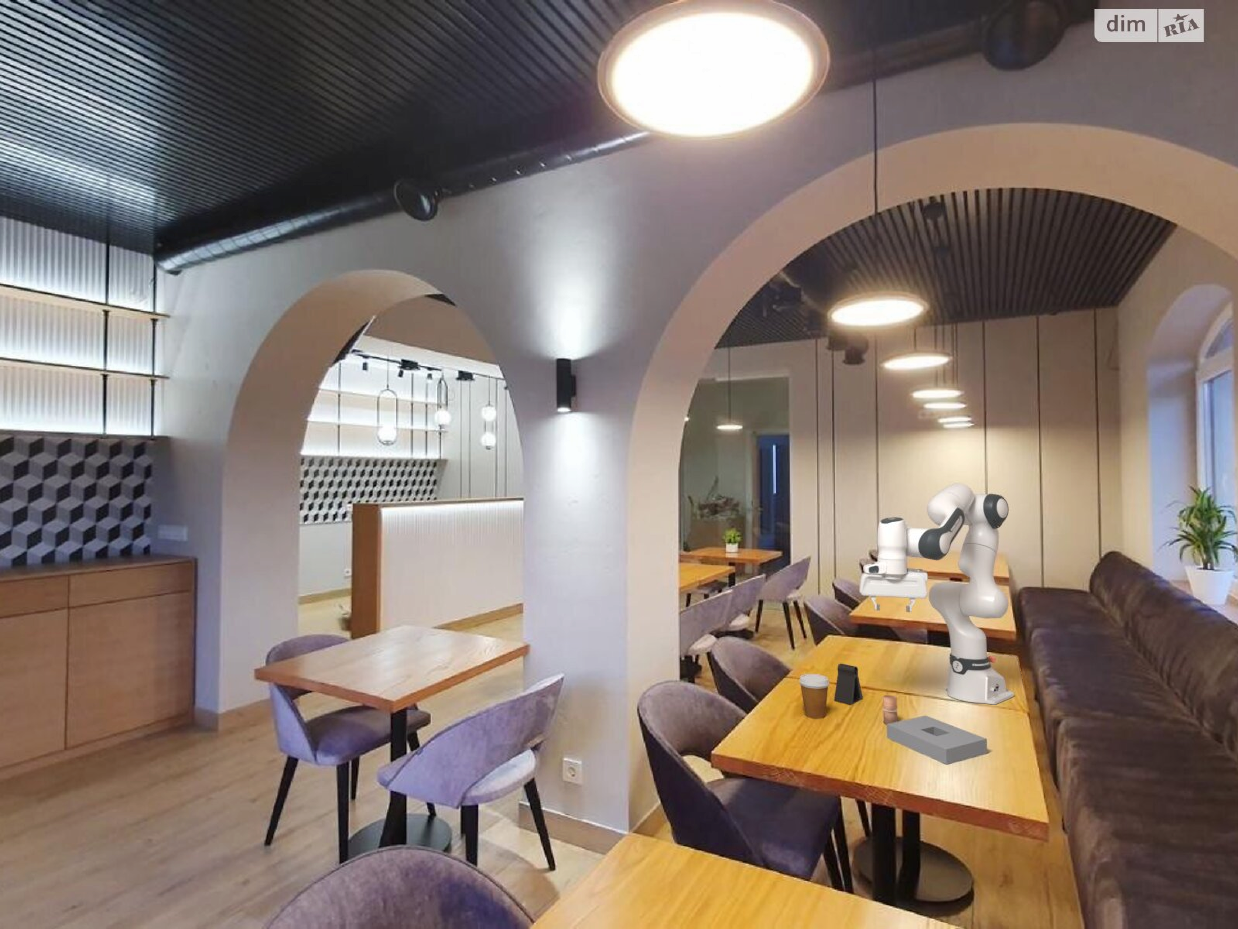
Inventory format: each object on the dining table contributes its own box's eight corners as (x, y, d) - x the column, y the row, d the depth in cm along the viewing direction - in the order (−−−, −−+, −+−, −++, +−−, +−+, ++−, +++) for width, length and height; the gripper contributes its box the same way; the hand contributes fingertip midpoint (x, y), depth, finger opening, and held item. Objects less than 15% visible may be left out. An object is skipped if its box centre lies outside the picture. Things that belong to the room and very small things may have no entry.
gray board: (926, 728, 194) (925, 715, 194) (987, 753, 176) (986, 738, 176) (887, 738, 188) (886, 724, 188) (946, 764, 169) (946, 749, 170)
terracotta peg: (890, 720, 202) (889, 694, 202) (900, 724, 198) (899, 698, 198) (880, 722, 200) (879, 696, 200) (890, 726, 196) (890, 700, 197)
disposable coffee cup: (826, 722, 201) (825, 684, 201) (796, 717, 206) (795, 679, 206) (833, 713, 209) (832, 676, 209) (804, 708, 214) (803, 672, 214)
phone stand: (850, 705, 215) (849, 669, 216) (834, 701, 220) (833, 666, 220) (863, 699, 222) (862, 664, 222) (846, 695, 226) (845, 661, 226)
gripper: (925, 568, 206) (926, 611, 206) (858, 565, 212) (859, 607, 212) (929, 570, 200) (929, 614, 200) (859, 567, 206) (860, 610, 206)
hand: (892, 611), depth 206 cm, fingers open, 8 cm apart
